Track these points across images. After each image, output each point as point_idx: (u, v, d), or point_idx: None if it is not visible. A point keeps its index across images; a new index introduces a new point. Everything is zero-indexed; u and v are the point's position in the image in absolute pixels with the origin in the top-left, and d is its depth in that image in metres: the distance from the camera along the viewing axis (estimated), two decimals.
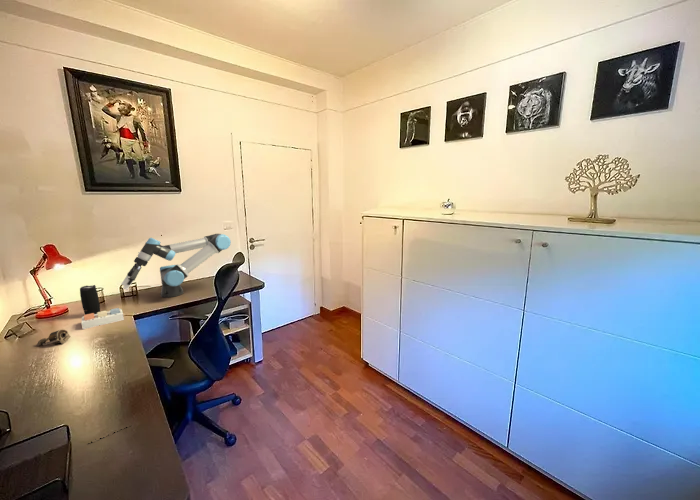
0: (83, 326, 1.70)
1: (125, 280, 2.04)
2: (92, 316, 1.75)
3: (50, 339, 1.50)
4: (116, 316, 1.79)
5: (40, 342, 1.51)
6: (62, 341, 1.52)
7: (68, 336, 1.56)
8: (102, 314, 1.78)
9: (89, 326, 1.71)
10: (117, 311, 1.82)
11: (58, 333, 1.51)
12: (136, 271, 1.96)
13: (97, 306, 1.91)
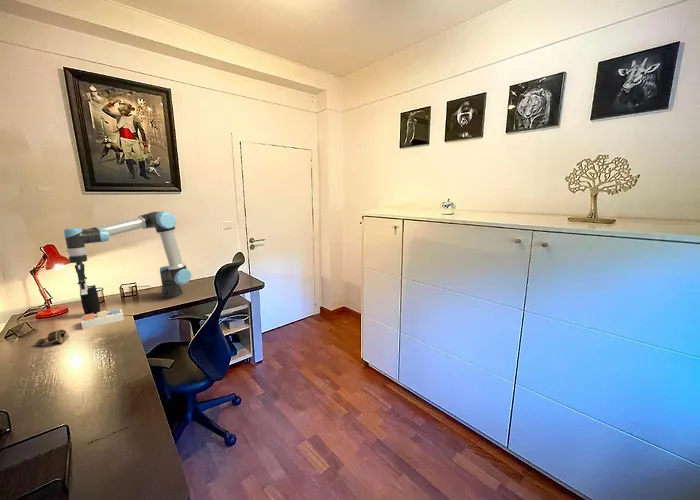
0: (83, 326, 1.70)
1: None
2: (92, 316, 1.75)
3: (49, 339, 1.50)
4: (116, 316, 1.79)
5: (39, 342, 1.51)
6: (61, 341, 1.52)
7: (67, 336, 1.56)
8: (102, 314, 1.78)
9: (89, 326, 1.71)
10: (117, 311, 1.82)
11: (57, 333, 1.51)
12: (79, 272, 1.65)
13: (97, 306, 1.91)
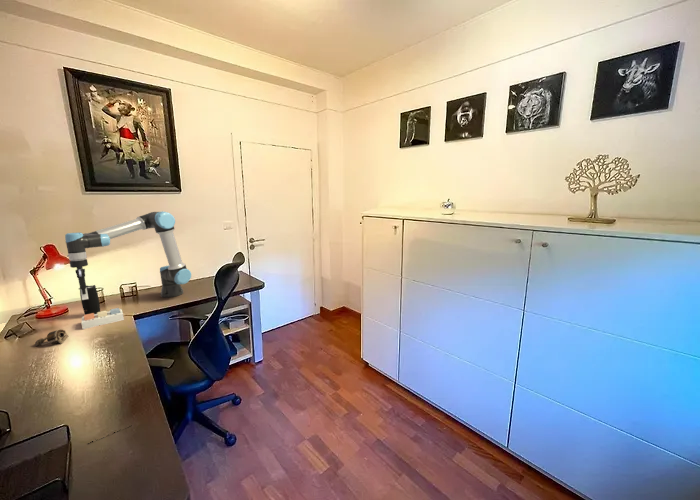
0: (83, 326, 1.70)
1: None
2: (92, 316, 1.75)
3: (48, 339, 1.50)
4: (116, 316, 1.79)
5: (38, 342, 1.51)
6: (60, 341, 1.52)
7: (66, 336, 1.56)
8: (102, 314, 1.78)
9: (89, 326, 1.71)
10: (117, 311, 1.82)
11: (56, 333, 1.51)
12: (80, 279, 1.67)
13: (97, 306, 1.91)
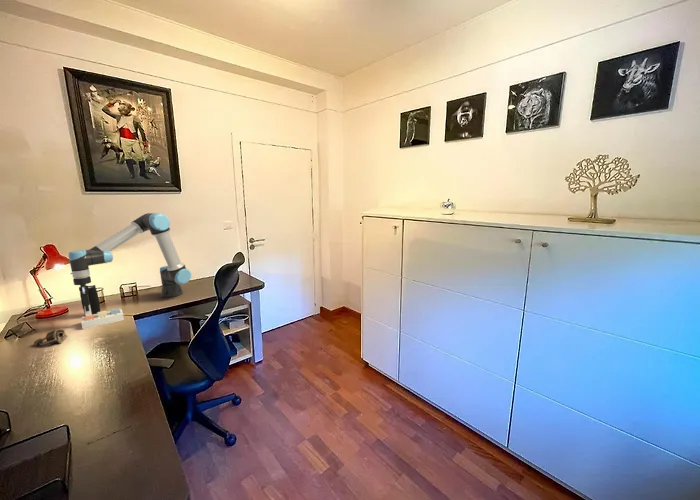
0: (83, 326, 1.70)
1: None
2: (92, 317, 1.75)
3: (47, 339, 1.50)
4: (116, 316, 1.79)
5: (37, 342, 1.51)
6: (60, 341, 1.52)
7: (65, 336, 1.56)
8: (102, 314, 1.78)
9: (89, 326, 1.71)
10: (117, 311, 1.82)
11: (56, 333, 1.52)
12: (84, 296, 1.69)
13: (97, 306, 1.91)
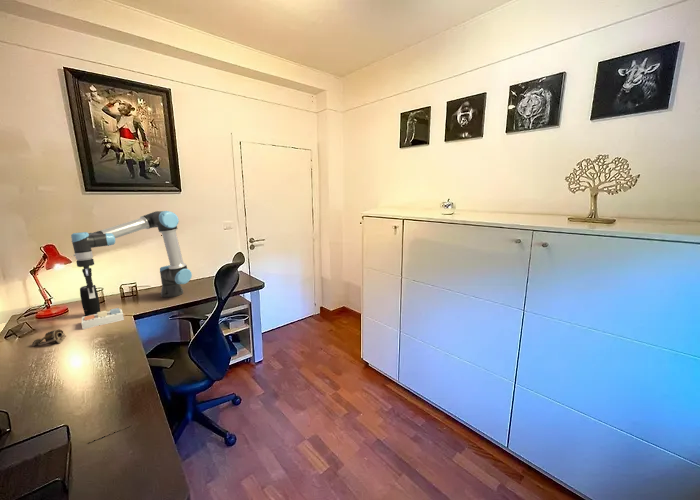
0: (83, 326, 1.70)
1: None
2: (92, 318, 1.75)
3: (46, 339, 1.50)
4: (116, 316, 1.79)
5: (35, 342, 1.51)
6: (59, 340, 1.53)
7: (64, 336, 1.57)
8: (102, 314, 1.78)
9: (89, 326, 1.71)
10: (117, 311, 1.82)
11: (55, 333, 1.52)
12: (87, 278, 1.70)
13: (97, 306, 1.91)
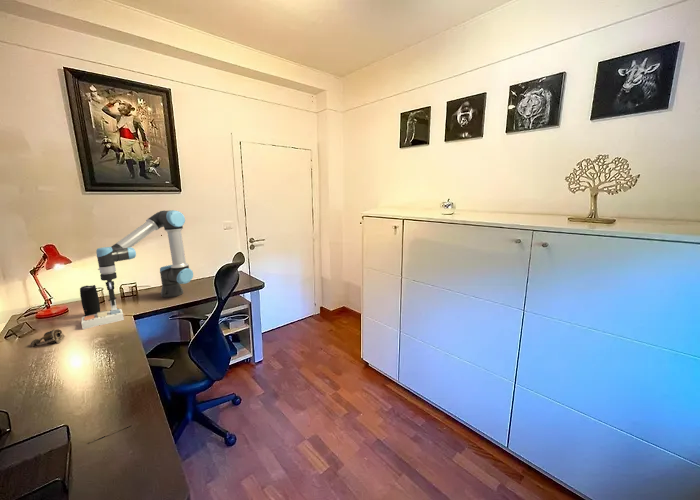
0: (83, 326, 1.70)
1: None
2: (92, 318, 1.75)
3: (45, 339, 1.50)
4: (116, 316, 1.79)
5: (34, 342, 1.51)
6: (58, 340, 1.53)
7: (63, 335, 1.57)
8: (102, 314, 1.78)
9: (89, 326, 1.71)
10: (117, 312, 1.82)
11: (53, 332, 1.52)
12: (110, 291, 1.77)
13: (97, 306, 1.91)
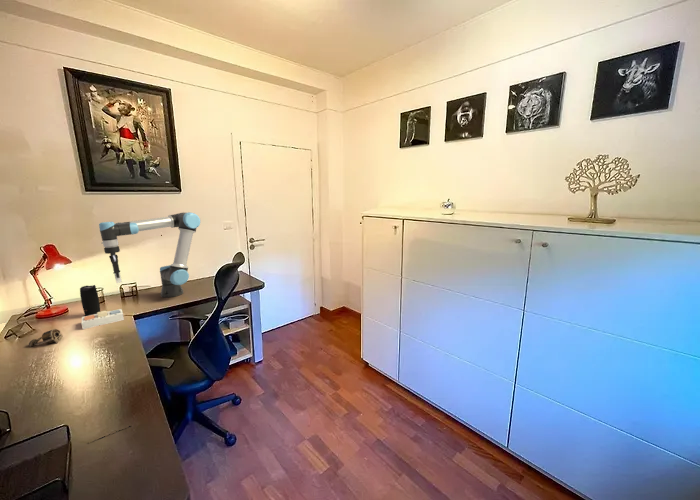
0: (83, 326, 1.70)
1: None
2: (92, 318, 1.75)
3: (44, 339, 1.51)
4: (116, 316, 1.79)
5: (32, 343, 1.51)
6: (56, 340, 1.53)
7: (61, 335, 1.57)
8: (102, 314, 1.78)
9: (89, 326, 1.71)
10: None
11: (52, 332, 1.52)
12: (115, 264, 1.85)
13: (97, 306, 1.91)
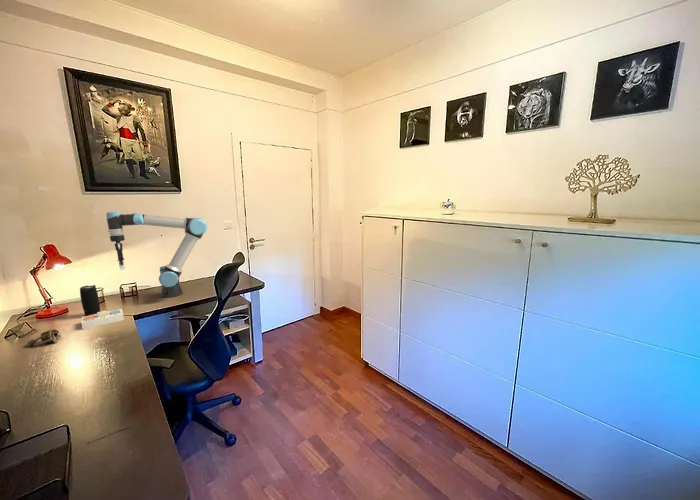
0: (83, 326, 1.70)
1: None
2: (92, 318, 1.75)
3: (42, 339, 1.51)
4: (116, 316, 1.79)
5: (30, 343, 1.51)
6: (55, 340, 1.53)
7: (59, 335, 1.57)
8: (102, 314, 1.78)
9: (89, 326, 1.71)
10: None
11: (51, 332, 1.52)
12: (119, 251, 1.95)
13: (97, 306, 1.91)
